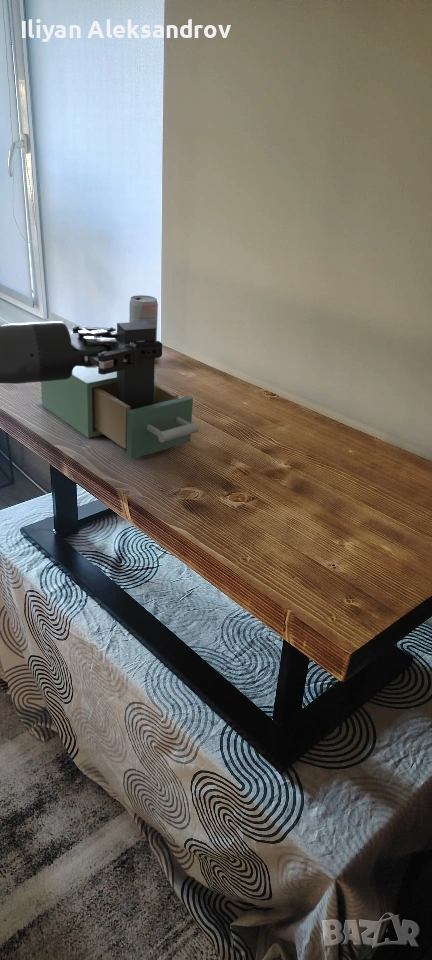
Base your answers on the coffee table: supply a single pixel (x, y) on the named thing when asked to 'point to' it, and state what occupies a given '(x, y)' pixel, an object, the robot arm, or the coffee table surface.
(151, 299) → the energy drink
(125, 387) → the black post
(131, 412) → the drawer
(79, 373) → the cabinet
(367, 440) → the coffee table surface
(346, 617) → the coffee table surface
